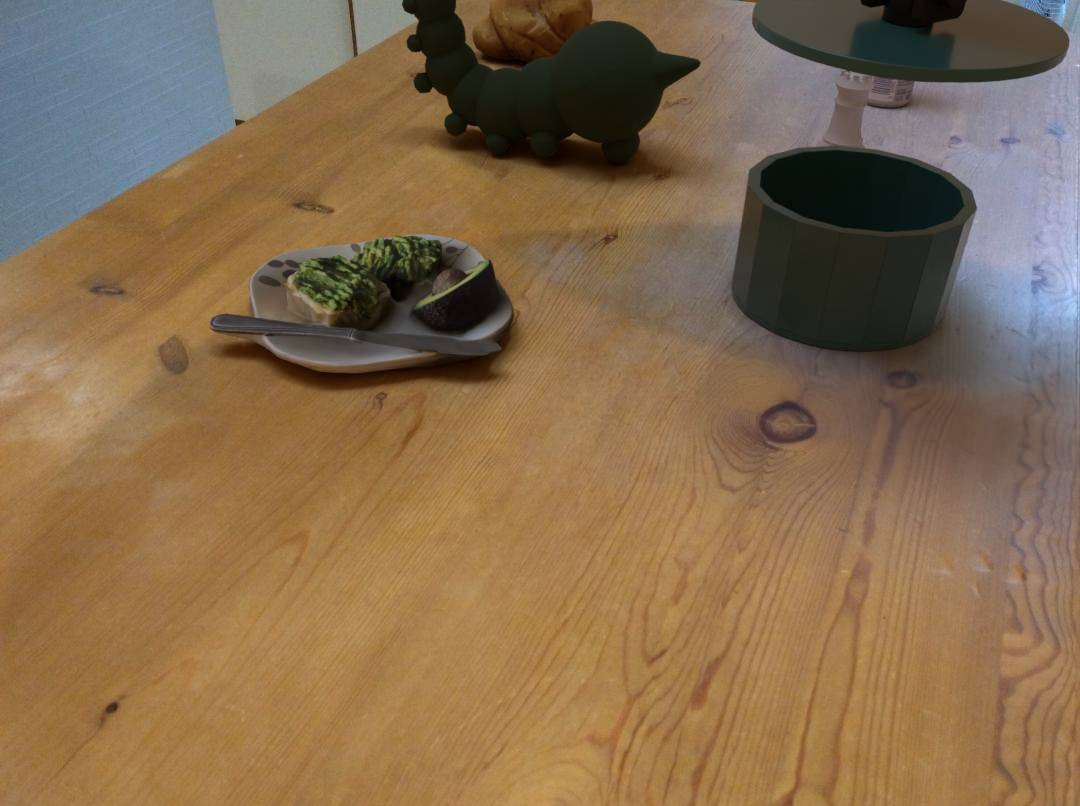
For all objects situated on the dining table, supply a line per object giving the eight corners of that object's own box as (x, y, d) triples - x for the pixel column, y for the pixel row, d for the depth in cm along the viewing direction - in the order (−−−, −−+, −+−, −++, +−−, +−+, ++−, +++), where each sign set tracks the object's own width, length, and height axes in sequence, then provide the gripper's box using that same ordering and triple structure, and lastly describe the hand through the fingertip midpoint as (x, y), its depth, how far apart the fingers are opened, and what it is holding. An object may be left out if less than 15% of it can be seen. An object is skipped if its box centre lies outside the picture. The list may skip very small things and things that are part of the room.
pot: (832, 235, 83) (854, 132, 77) (985, 314, 74) (1023, 203, 68) (689, 281, 76) (703, 172, 71) (838, 374, 67) (867, 257, 62)
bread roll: (465, 66, 112) (463, -18, 106) (483, 39, 119) (482, -41, 114) (586, 75, 110) (590, -9, 105) (597, 47, 118) (601, -33, 112)
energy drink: (876, 86, 110) (906, -43, 102) (920, 101, 107) (953, -31, 99) (844, 97, 107) (871, -35, 99) (888, 112, 104) (919, -23, 96)
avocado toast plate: (225, 418, 62) (211, 349, 59) (203, 278, 75) (190, 216, 72) (540, 371, 67) (542, 305, 64) (469, 248, 79) (468, 188, 76)
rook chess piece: (805, 170, 92) (824, 74, 87) (818, 152, 95) (836, 59, 90) (856, 179, 91) (878, 83, 86) (867, 162, 94) (889, 68, 89)
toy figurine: (409, 170, 94) (686, 185, 88) (375, -71, 82) (692, -75, 76) (448, 134, 101) (707, 145, 94) (421, -94, 89) (716, -100, 82)
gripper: (1284, -499, 38) (1095, 43, 50) (932, -481, 48) (845, -33, 60) (1164, -517, 35) (992, 68, 47) (813, -494, 45) (746, -17, 57)
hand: (910, 7), depth 53 cm, fingers closed on lid, 2 cm apart
